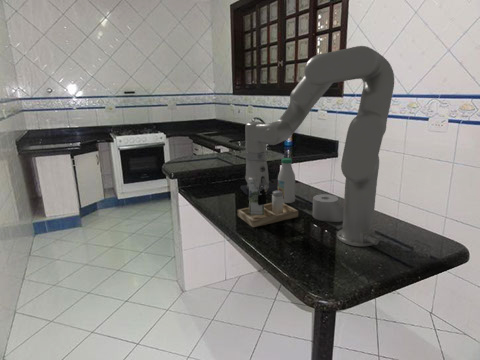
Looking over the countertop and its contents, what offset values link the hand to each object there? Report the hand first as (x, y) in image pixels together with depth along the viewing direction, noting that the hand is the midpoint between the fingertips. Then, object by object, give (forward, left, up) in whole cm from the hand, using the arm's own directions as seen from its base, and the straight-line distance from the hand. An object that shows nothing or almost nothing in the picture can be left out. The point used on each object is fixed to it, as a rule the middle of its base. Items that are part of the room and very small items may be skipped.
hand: (256, 200), depth 125 cm
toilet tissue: (-13, -25, -9) cm, 29 cm away
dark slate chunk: (+33, -22, -9) cm, 41 cm away
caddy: (0, -5, -8) cm, 10 cm away
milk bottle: (+12, -22, -9) cm, 26 cm away
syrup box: (0, 0, -5) cm, 5 cm away
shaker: (0, -10, -7) cm, 12 cm away
